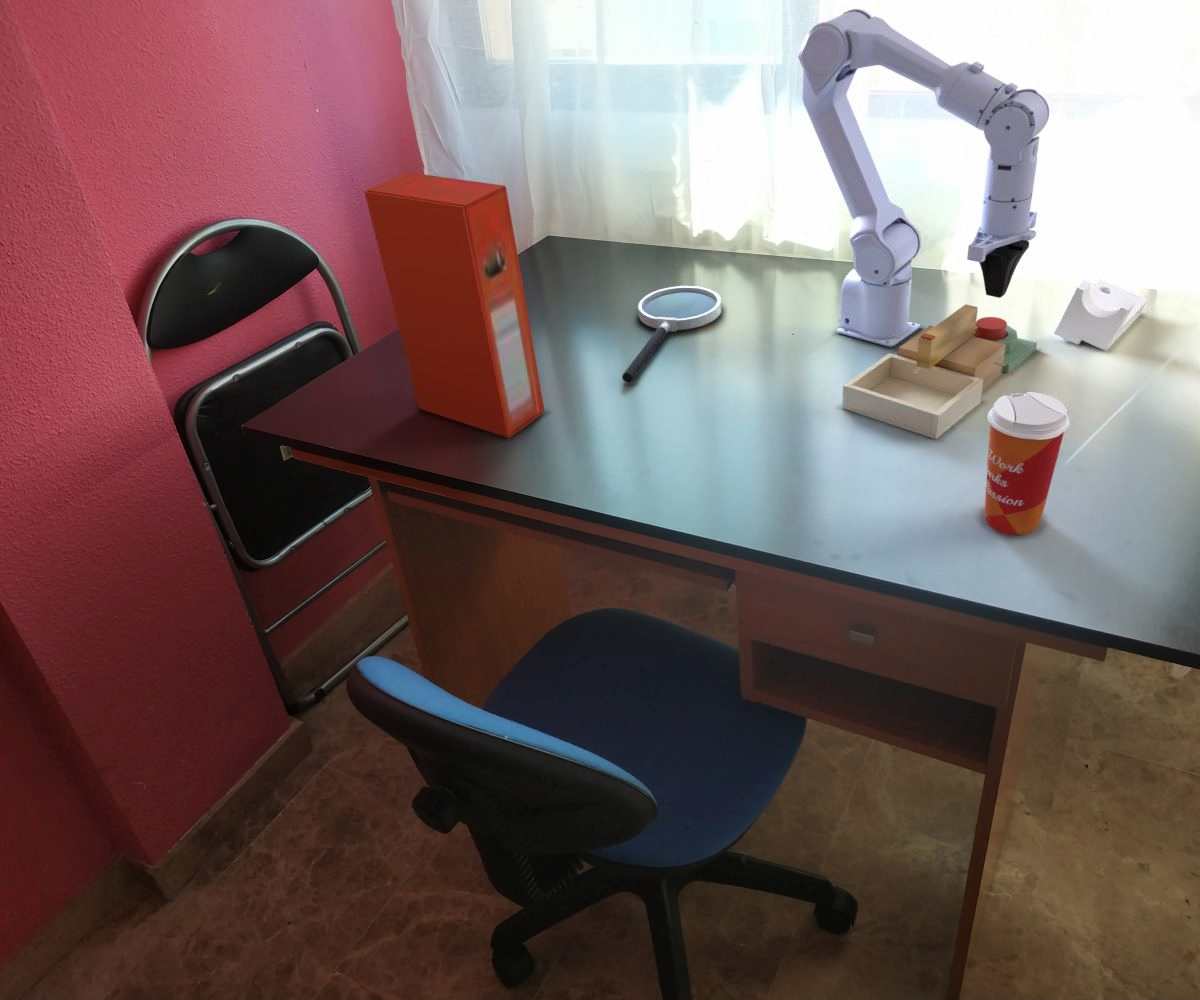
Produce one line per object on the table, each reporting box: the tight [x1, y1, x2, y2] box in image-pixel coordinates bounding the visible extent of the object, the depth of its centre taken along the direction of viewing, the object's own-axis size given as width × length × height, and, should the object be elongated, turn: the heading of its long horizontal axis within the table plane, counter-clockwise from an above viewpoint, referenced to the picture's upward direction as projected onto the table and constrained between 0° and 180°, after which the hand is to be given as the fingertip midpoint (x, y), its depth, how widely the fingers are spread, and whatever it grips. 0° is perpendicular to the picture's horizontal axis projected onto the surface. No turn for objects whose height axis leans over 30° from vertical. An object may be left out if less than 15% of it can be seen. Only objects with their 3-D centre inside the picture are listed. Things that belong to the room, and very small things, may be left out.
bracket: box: [1053, 278, 1149, 351], centre depth 138 cm, size 13×7×8 cm, turn 138°
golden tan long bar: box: [917, 304, 979, 369], centre depth 129 cm, size 12×2×4 cm, turn 135°
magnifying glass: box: [622, 285, 722, 384], centre depth 153 cm, size 13×31×2 cm, turn 158°
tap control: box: [973, 325, 1038, 374], centre depth 137 cm, size 10×8×3 cm
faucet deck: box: [891, 325, 1006, 391], centre depth 132 cm, size 16×16×5 cm
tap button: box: [975, 316, 1008, 341], centre depth 136 cm, size 4×4×2 cm
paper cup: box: [984, 391, 1070, 536], centre depth 103 cm, size 8×8×14 cm
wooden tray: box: [841, 352, 983, 440], centre depth 128 cm, size 14×11×3 cm
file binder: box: [363, 171, 545, 439], centre depth 131 cm, size 8×17×32 cm, turn 52°
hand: (995, 294), depth 133 cm, fingers closed
